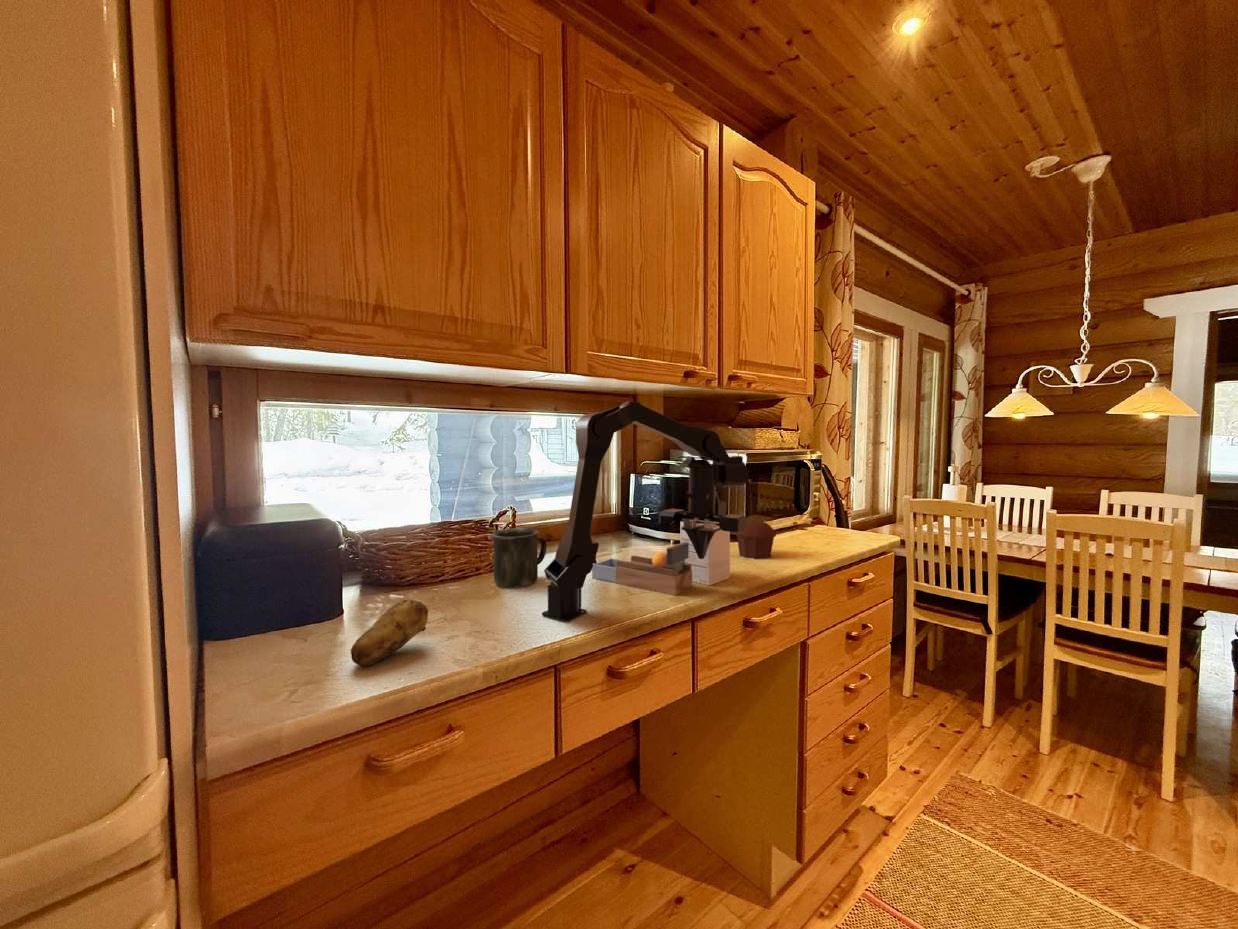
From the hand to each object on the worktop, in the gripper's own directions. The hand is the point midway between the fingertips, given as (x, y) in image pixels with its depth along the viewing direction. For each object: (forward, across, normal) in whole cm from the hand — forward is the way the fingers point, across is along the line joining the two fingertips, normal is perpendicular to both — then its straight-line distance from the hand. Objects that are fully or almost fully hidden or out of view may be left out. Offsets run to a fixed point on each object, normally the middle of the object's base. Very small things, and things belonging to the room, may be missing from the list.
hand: (701, 558), depth 115 cm
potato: (+8, +27, +57) cm, 64 cm away
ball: (+2, +10, 0) cm, 10 cm away
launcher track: (+8, +12, 0) cm, 15 cm away
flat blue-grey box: (+8, +24, 0) cm, 25 cm away
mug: (+8, +40, +15) cm, 44 cm away
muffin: (+8, +3, -42) cm, 43 cm away
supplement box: (+8, +5, -12) cm, 15 cm away
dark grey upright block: (+4, +7, 0) cm, 8 cm away
